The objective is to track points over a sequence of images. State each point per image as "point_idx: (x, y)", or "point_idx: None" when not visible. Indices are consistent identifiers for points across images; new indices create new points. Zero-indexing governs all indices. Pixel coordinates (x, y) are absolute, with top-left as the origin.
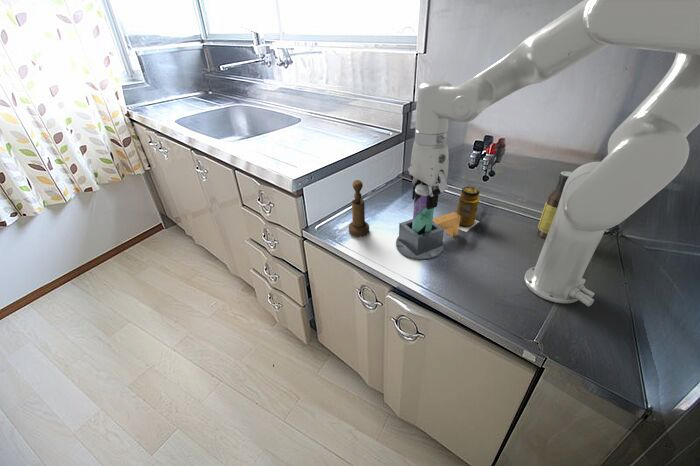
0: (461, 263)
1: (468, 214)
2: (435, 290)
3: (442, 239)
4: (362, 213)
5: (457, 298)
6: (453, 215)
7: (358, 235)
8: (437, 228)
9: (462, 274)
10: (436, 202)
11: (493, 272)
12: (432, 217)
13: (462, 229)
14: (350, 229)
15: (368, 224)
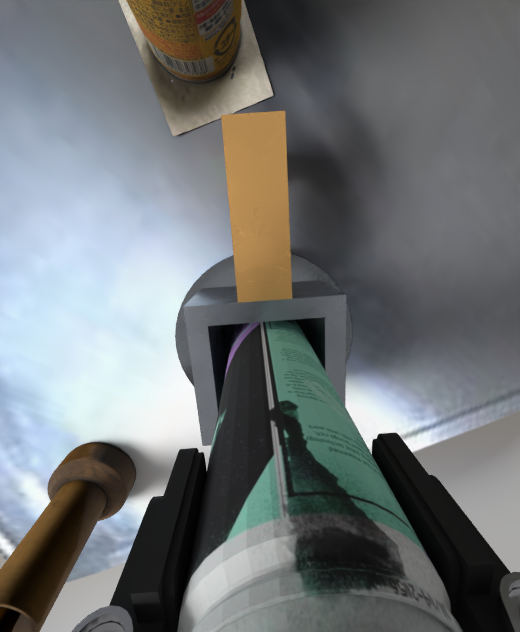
0: (416, 265)
1: (231, 2)
2: (457, 406)
3: (329, 285)
4: (69, 555)
5: (513, 374)
6: (259, 151)
7: (130, 490)
8: (321, 317)
9: (456, 299)
10: (452, 506)
11: (513, 197)
12: (328, 378)
13: (247, 96)
14: (99, 520)
15: (89, 462)
